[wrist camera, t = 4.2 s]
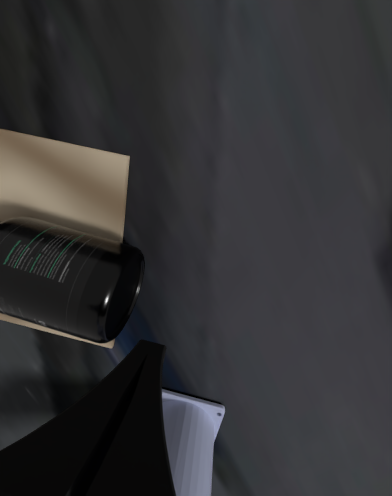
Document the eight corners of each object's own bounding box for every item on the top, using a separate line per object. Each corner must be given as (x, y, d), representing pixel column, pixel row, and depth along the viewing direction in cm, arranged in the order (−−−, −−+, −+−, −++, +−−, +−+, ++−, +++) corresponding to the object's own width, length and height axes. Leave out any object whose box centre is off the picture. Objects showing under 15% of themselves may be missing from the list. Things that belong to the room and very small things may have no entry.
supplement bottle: (116, 351, 18) (-29, 306, 18) (149, 272, 21) (26, 236, 22) (89, 336, 12) (-126, 270, 12) (141, 229, 15) (-29, 181, 16)
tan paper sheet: (113, 344, 23) (111, 348, 23) (-6, 313, 24) (-11, 316, 24) (129, 156, 17) (126, 155, 16) (-36, 120, 18) (-43, 119, 17)
